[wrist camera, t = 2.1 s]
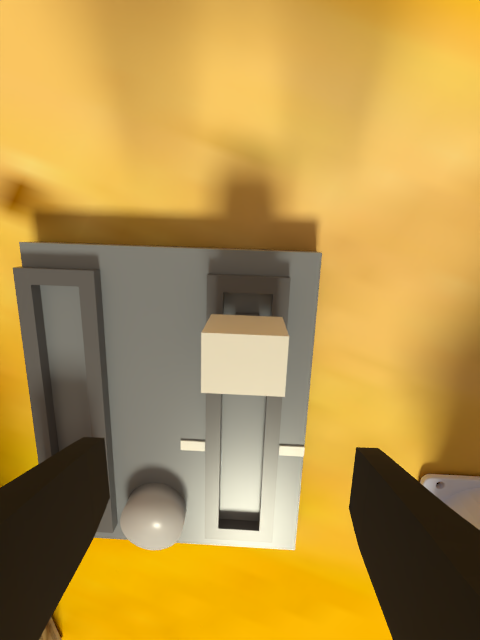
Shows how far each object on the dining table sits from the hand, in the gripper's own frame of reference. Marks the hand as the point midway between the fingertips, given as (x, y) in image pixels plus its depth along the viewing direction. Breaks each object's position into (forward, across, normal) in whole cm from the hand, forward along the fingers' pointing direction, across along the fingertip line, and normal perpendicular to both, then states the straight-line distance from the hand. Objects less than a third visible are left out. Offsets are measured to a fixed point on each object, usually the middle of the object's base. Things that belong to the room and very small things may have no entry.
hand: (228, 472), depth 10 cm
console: (+10, +4, +3) cm, 11 cm away
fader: (+8, 0, -2) cm, 9 cm away
